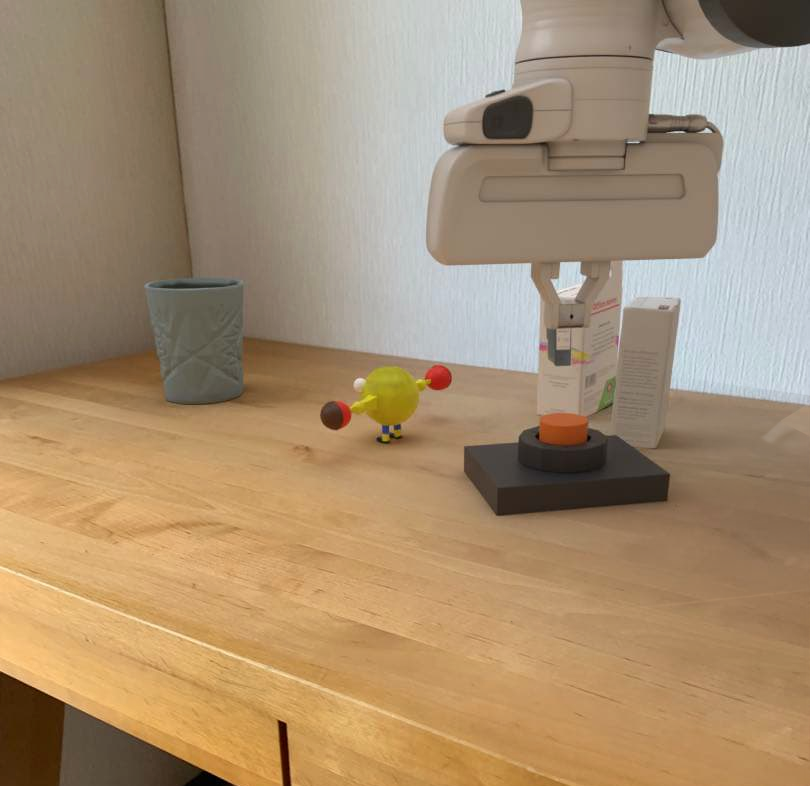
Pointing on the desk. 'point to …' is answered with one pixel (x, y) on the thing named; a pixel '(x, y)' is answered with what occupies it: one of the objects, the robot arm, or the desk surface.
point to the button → (563, 429)
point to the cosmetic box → (644, 370)
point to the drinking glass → (198, 337)
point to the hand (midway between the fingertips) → (566, 327)
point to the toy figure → (386, 399)
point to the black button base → (563, 474)
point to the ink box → (581, 354)
